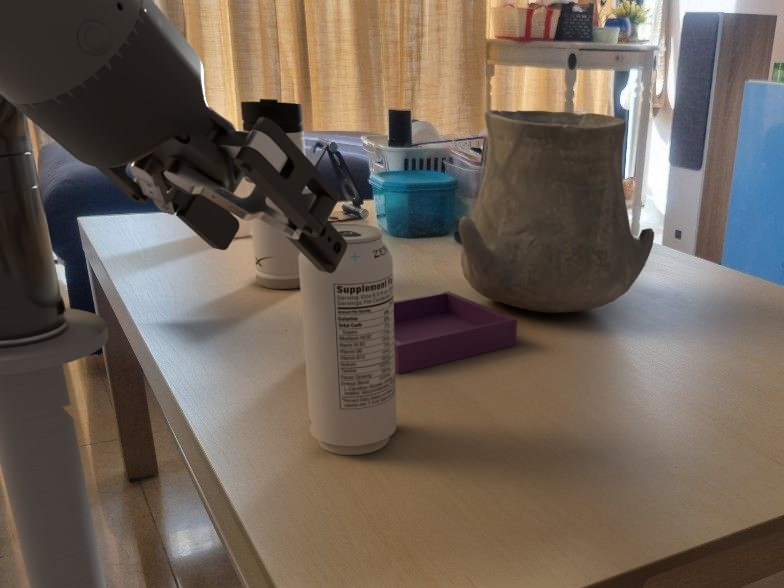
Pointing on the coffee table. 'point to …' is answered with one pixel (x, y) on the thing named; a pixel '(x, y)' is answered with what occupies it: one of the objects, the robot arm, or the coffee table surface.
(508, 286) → the vessel
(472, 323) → the tray
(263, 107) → the travel mug
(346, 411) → the energy drink can
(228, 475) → the coffee table surface
